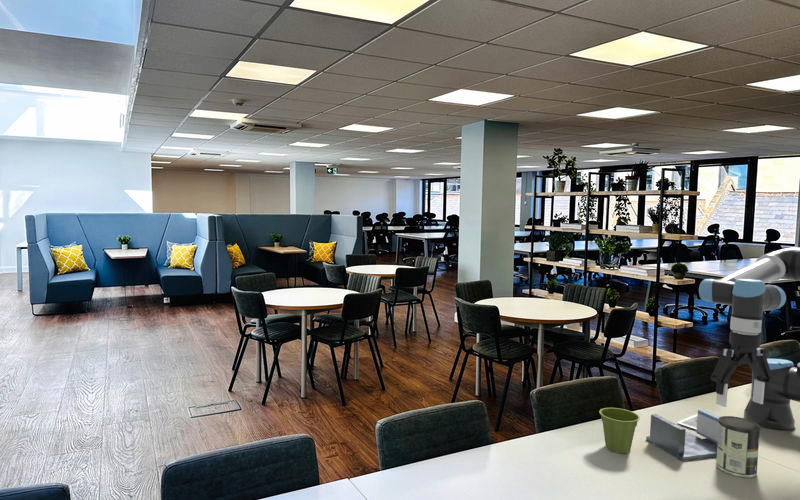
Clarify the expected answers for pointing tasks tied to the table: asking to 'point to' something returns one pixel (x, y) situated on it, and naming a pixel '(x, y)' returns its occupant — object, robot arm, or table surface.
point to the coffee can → (738, 446)
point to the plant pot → (618, 428)
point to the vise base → (679, 440)
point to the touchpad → (690, 422)
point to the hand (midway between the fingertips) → (739, 403)
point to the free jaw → (708, 425)
